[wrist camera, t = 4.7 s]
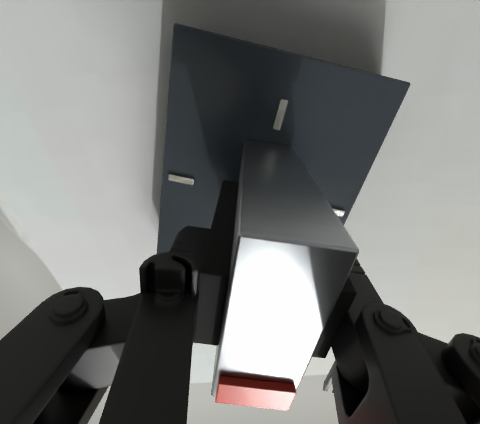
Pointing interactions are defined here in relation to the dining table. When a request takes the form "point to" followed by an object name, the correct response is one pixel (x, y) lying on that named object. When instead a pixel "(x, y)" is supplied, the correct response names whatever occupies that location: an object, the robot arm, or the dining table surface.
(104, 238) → the dining table surface
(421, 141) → the dining table surface
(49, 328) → the robot arm
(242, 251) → the tap handle
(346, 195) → the panel
